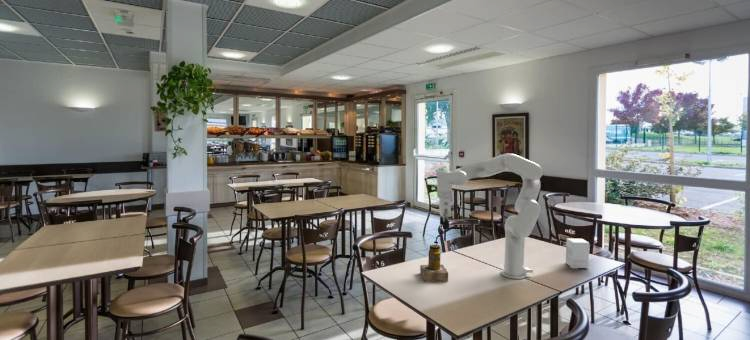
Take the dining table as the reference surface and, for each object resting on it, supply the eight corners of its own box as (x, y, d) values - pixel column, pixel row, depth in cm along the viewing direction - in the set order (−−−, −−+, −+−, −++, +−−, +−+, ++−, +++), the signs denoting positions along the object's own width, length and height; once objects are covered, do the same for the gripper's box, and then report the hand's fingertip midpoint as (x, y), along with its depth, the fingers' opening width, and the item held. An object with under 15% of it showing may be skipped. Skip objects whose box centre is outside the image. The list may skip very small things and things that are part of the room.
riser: (442, 273, 200) (442, 264, 200) (448, 282, 188) (448, 272, 188) (420, 274, 200) (420, 264, 199) (424, 282, 188) (424, 273, 187)
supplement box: (581, 263, 216) (582, 238, 215) (588, 269, 208) (590, 242, 206) (564, 263, 217) (566, 237, 216) (571, 268, 208) (572, 242, 207)
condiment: (443, 269, 193) (444, 246, 192) (432, 272, 188) (432, 249, 187) (433, 265, 199) (434, 243, 198) (421, 268, 194) (422, 245, 193)
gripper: (454, 197, 187) (454, 230, 188) (449, 191, 204) (449, 222, 206) (439, 197, 187) (439, 230, 189) (435, 192, 204) (435, 222, 206)
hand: (444, 226), depth 197 cm, fingers open, 9 cm apart
